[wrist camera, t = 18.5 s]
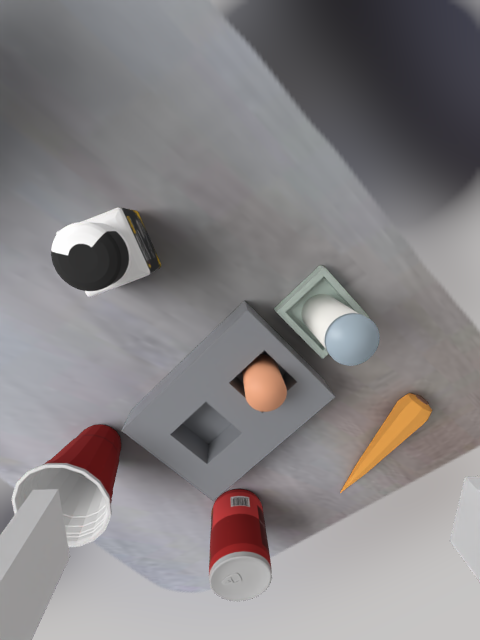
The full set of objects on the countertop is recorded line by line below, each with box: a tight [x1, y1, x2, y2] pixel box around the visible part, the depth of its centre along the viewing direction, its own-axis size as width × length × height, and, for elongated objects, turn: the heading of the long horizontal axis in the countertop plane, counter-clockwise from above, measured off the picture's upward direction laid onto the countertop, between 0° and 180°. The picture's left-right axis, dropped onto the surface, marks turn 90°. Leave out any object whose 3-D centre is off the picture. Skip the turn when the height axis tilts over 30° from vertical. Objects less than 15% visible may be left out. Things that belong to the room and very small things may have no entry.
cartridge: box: [301, 294, 380, 366], centre depth 37 cm, size 5×5×11 cm
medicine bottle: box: [51, 207, 161, 297], centre depth 34 cm, size 7×7×12 cm
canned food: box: [209, 489, 272, 601], centre depth 46 cm, size 8×8×11 cm
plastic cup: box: [12, 425, 121, 547], centre depth 41 cm, size 11×11×12 cm
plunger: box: [242, 354, 287, 412], centre depth 40 cm, size 5×5×6 cm
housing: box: [121, 301, 335, 501], centre depth 43 cm, size 16×22×5 cm
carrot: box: [340, 393, 432, 493], centre depth 48 cm, size 20×4×4 cm, turn 151°
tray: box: [274, 265, 370, 359], centre depth 42 cm, size 9×8×2 cm
